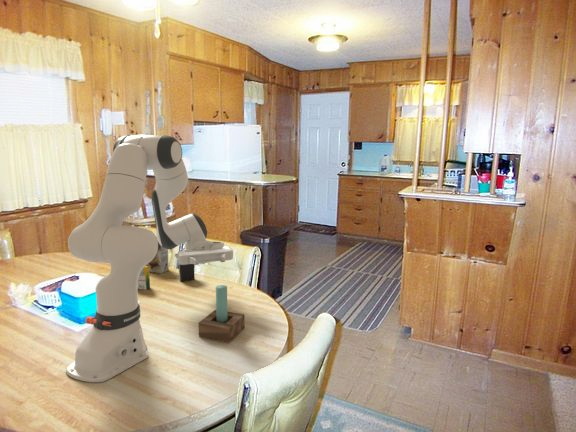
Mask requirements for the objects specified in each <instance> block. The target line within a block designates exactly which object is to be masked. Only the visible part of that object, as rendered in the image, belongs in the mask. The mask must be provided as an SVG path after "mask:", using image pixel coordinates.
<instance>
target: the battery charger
mask: <svg viewBox="0 0 576 432" xmlns="http://www.w3.org/2000/svg"><path fill="white" fill-rule="evenodd" d="M195 266H196V265H194V264H185V265H180V264H179V263H178V262H177V267H178V273H179V275H178V277H179V281H180V282H185V281H191V280H195V279H196V278H195Z"/></svg>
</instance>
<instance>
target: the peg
mask: <svg viewBox="0 0 576 432" xmlns="http://www.w3.org/2000/svg"><path fill="white" fill-rule="evenodd" d="M215 305H216V306H215V308H216V309H215V310H216V318H217V322H220V323H227V322H228V315H227V311H228V286H227V285H225V284H219V285H216V286H215Z"/></svg>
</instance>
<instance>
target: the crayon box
mask: <svg viewBox="0 0 576 432" xmlns="http://www.w3.org/2000/svg"><path fill="white" fill-rule="evenodd" d="M150 288H151V282H150V272H149V266H146V265H145V267H144V268H143V269H142V271H141V273H140V275H139V278H138V288H137V290H138V289H139V290H144V291H147V290H148V289H150Z"/></svg>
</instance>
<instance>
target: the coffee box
mask: <svg viewBox="0 0 576 432" xmlns="http://www.w3.org/2000/svg"><path fill="white" fill-rule="evenodd" d="M156 238H157V236H156ZM157 241H158V240H157ZM145 266H149V273H154V272H155V274H164V273H165V272H168V271H169V269H170V268H169V249H166V248H163V247H161V245H160V244H159V242H158V250H157V253H156V255H155V257H154V258H153V260H152V261H151V262H149V263H148V264H147V265H145Z"/></svg>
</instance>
